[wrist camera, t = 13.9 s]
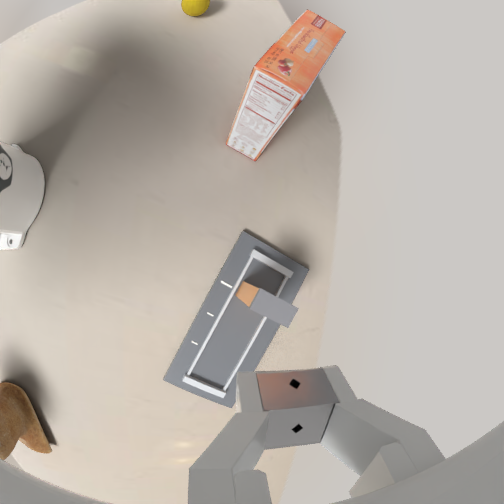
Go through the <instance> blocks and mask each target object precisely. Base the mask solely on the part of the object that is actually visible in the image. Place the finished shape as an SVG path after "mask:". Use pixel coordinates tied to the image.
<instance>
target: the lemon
mask: <svg viewBox="0 0 504 504" xmlns="http://www.w3.org/2000/svg"><path fill="white" fill-rule="evenodd" d="M209 4H210V0H182V3H181V6H182V10H183V11H184V12H185V13H186V14H187V15H190V16H199V15H201V14H203V13H204V12H205V11H206V10H207V9H208V7H209Z"/></svg>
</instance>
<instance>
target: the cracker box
mask: <svg viewBox="0 0 504 504" xmlns="http://www.w3.org/2000/svg"><path fill="white" fill-rule="evenodd" d="M345 33H346V32H345V31H344V30H342V29H341V28H339V27H337V26H336V25H334V24H333V23H331V22H329V21H327V20H325V19H324V18H322V17H320V16H319V15H317V14H315V13H313V12H311V11H309V10H308V9H307V10H306V11H305V12H304V13H303V14H302V15H301V16H300V17H299V18H298V19H297V20H296V21H295V22H294V23H293V24H292V25H291V26H290V27H289V28H288V29H287V30H286V31H285V32H284V33H283V35H282V36H281V37H280V38H279V39H278V40H277V41H276V42H275V43H274V44H273V45H272V46H271V47H270V49H269V50H268V51H267V52H266V53H265V54H264V55H263V56H262V58H261V59H260V60H259V61H258V62H257V64H256V65H255V66H254V68H253V70H252V73H251V75H250V78H249V81H248V83H247V86H246V88H245V91H244V94H243V97H242V99H241V102H240V105H239V108H238V110H237V113H236V116H235V118H234V121H233V124H232V127H231V130H230V133H229V136H228V139H227V141H226V145H228V146H230V147H231V148H233V149H235V150H237V151H238V152H240V153H242V154H244V155H245V156H247V157H249V158H251V159H252V160H254V161H256V160H257V159H258V157H259V156H260V154H261V153H262V152H263V150H264V149H265V148H266V146H267V145H268V143H269V142H270V141H271V139H272V138H273V137H274V135H275V134H276V133H277V132H278V130H279V129H280V128H281V126H282V125H283V124H284V122H285V121H286V120H287V119H288V117H289V116H290V115H291V114H292V112H293V111H294V110H295V109H296V107H297V106H298V105H299V104H300V102H301V101H302V100H303V98H304V97H305V96H306V94H307V92H308V91H309V89H310V88H311V86H312V84H313V83H314V81H315V80H316V78H317V77H318V75H319V73H320V72H321V70H322V69H323V67H324V66H325V64H326V62H327V61H328V59H329V58H330V56H331V55H332V53H333V52H334V50H335V48H336V46H337V45H338V44H339V42H340V40H341V39H342V37H343V36H344V34H345Z"/></svg>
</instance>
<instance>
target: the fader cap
mask: <svg viewBox="0 0 504 504" xmlns="http://www.w3.org/2000/svg"><path fill="white" fill-rule="evenodd" d="M235 296H237V297H238V298H239V299H240V300H241V301H242V302H244V303H245V304H246V305H247V306H248V307H249V309H251V310H253V311H255V312H257V313H259V314H261V315H263V316H265V317H267V318H269V319H271V320H273V321H275V322H277V323H279V324H281V325H283V326H285V327H287V328H288V327H289V325H290V323H291V322H292V320H293V318H294V316H295V314H296V312H297V310H298V308H297V307H295V306H293V305H291V304H289V303H287V302H286V301H284V300H282V299H280V298H278V297H276V296H274V295H272V294H270V293H269V292H267V291H265V290H263V289H261V288H257V287H255V286H253V285H251V284H248V283H246V282H244V281H243V282H242V284H241V285H240V287H239V289H238V291H237V293H236V295H235Z"/></svg>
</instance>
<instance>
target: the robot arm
mask: <svg viewBox="0 0 504 504" xmlns="http://www.w3.org/2000/svg"><path fill="white" fill-rule="evenodd" d="M44 186H45V181H44V174H43V170H42V167H41V165H40V163H39V162H38V160H37V159H36V158H34V157H33V156H31V155H29V154H26V153H24V152H23V151H22V149H21V148H20V147H19V146H18V145H16V144H12V145H11V146H10V145H8V144H6V143H3V142H1V141H0V250H11V249H19V248H21V246H22V245H23V242H24V239H25V235H26V232H27V230H28V228H29V227H30V225H31V224H32V222H33V221H34V219H35V218H36V216H37V214H38V212H39V209H40V207H41V204H42V200H43V195H44ZM12 240H13V243H11V241H12ZM315 443H320V444H321V445H322V446H324V448H325V449H327V450H328V451H329V452H331V453H332V454H333V455H334V456H335V457H337V458H338V459H339V460H340V461H342V462H343V463H344V464H345V465H347V466H348V467H349V468H351V469H352V470H353V471H354V472H356V473H357V474H359V475H360V476H361V477H360V478H359V479H358V481H357V482H356V483H355V485H354V486H353V487H352V488H351V490H350V495H351V497H352V498H350V499H347V500H343V501H339V502H336V503H332V504H504V421H503V422H502V423H501V424H499V425H498V426H497V427H495V428H494V429H492V430H491V431H490V432H488V433H487V434H485V435H484V436H483V437H481V438H480V439H478V440H477V441H475V442H474V443H472V444H471V445H469V446H467V447H466V448H464V449H463V450H461V451H459V452H458V453H456V454H454V455H453V456H451V457H449V458H447V459H445V457H444V456H443V455H442V453H441V452H440V450H439V449H438V447H437V446H436V445H435V443H434V442H433V440H432V439H431V437H430V436H429V434H428V433H427V432H426V430H425V429H423V428H420V427H418V426H416V425H414V424H411V423H410V422H407V421H405V420H403V419H401V418H399V417H397V416H395V415H393V414H391V413H389V412H387V411H385V410H383V409H381V408H379V407H377V406H375V405H373V404H371V403H369V402H367V401H366V400H364V399H357V397H356V396H355V394H354V392H353V391H352V389H351V387H350V386H349V384H348V382H347V380H346V379H345V377H344V376H343V374H342V372H341V370H340V369H339V367H338V366H336V365H333V366H326V367H320V368H311V369H300V370H286V371H255V372H237V377H236V413H235V414H234V416H233V417H232V418H231V420H230V421H229V422H228V423H227V425H226V426H225V427H224V428H223V430H222V431H221V432H220V433H219V434H218V436H217V437H216V438H215V439H214V440H213V442H212V443H211V444H210V445H209V446H208V448H207V449H206V450H205V451H204V452H203V453H202V455H201V456H200V457H199V458H198V459H197V460H196V461H195V463H194V464H193V465H192V466H191V467H190V468H189V486H188V504H272V502H271V497H270V492H269V487H268V482H267V477H266V473H264V472H262V471H260V470H253V469H254V467H255V466H256V464H257V462H258V460H259V459H260V457H261V455H262V453H263V451H264V450H265V449H275V448H283V447H290V446H299V445H307V444H315ZM0 504H112V503H108V502H104V501H101V500H97V499H94V498H90V497H87V496H84V495H81V494H78V493H75V492H72V491H69V490H66V489H64V488H61V487H58V486H56V485H53V484H51V483H49V482H46V481H44V480H42V479H39V478H37V477H35V476H33V475H31V474H29V473H27V472H25V471H23V470H21V469H19V468H16V467H15V466H13V465H11V464H9V463H7V462H6V461H4V460H2V459H0Z"/></svg>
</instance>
